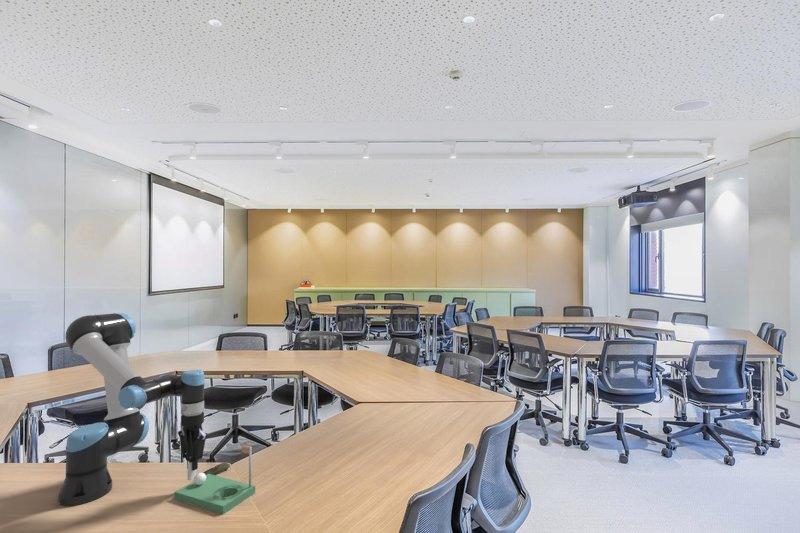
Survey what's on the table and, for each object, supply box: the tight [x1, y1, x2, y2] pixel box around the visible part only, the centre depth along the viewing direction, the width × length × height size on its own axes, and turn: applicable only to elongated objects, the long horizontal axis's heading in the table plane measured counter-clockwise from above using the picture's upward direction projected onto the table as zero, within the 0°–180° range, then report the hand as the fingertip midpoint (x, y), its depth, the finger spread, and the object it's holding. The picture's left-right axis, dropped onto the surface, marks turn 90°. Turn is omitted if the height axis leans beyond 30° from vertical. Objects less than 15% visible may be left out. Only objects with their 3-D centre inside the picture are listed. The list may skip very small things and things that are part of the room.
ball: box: [193, 472, 206, 485], centre depth 140 cm, size 4×4×4 cm
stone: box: [202, 462, 231, 476], centre depth 153 cm, size 13×5×2 cm, turn 149°
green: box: [173, 445, 256, 515], centre depth 137 cm, size 24×14×16 cm, turn 66°
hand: (192, 478), depth 141 cm, fingers closed
